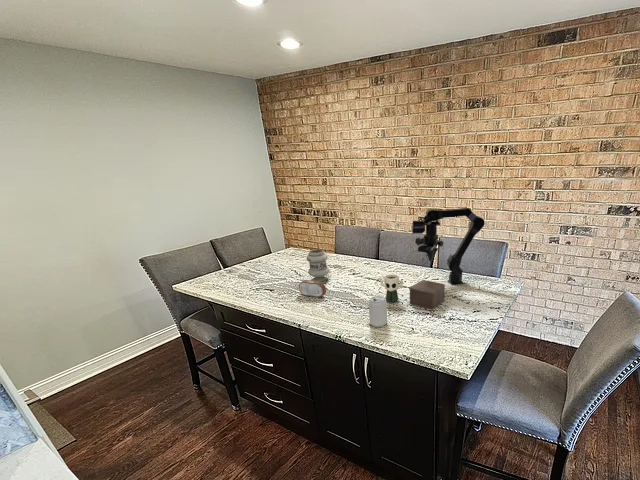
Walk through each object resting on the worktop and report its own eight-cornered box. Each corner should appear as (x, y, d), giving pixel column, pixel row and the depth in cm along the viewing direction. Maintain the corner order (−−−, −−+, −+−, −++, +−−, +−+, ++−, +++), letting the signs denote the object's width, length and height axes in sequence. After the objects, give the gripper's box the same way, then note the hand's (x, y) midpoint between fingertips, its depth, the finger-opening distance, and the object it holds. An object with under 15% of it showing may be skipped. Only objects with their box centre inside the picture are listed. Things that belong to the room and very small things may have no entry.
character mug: (380, 303, 166) (379, 278, 161) (382, 297, 173) (381, 273, 168) (402, 304, 165) (401, 279, 160) (403, 298, 172) (403, 274, 167)
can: (369, 320, 149) (368, 295, 145) (386, 319, 150) (385, 294, 145) (369, 328, 142) (368, 302, 138) (387, 327, 143) (386, 301, 138)
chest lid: (431, 294, 156) (431, 292, 155) (408, 289, 162) (408, 287, 162) (444, 285, 166) (444, 284, 165) (422, 281, 172) (422, 279, 172)
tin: (327, 296, 176) (325, 281, 173) (324, 298, 173) (322, 283, 170) (302, 293, 181) (300, 278, 177) (299, 295, 178) (297, 280, 175)
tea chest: (432, 309, 159) (432, 293, 156) (409, 303, 166) (409, 288, 163) (444, 300, 169) (444, 285, 166) (422, 295, 175) (422, 281, 172)
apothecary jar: (305, 282, 197) (301, 252, 190) (317, 276, 207) (313, 247, 200) (322, 284, 192) (319, 254, 185) (334, 278, 203) (331, 249, 196)
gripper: (426, 228, 192) (426, 255, 198) (409, 234, 178) (409, 263, 184) (444, 230, 186) (443, 258, 192) (427, 237, 172) (427, 266, 178)
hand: (430, 261), depth 187 cm, fingers closed
